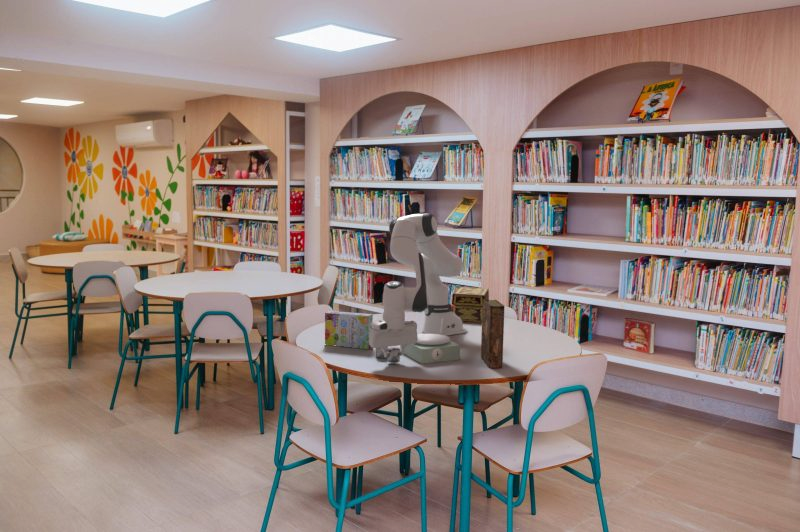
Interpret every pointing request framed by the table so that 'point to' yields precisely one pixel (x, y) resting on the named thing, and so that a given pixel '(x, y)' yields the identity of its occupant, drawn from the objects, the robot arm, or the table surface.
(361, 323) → the snack box
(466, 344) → the table surface
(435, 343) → the scale
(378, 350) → the cylinder
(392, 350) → the spacer
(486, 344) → the book
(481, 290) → the decorative box
